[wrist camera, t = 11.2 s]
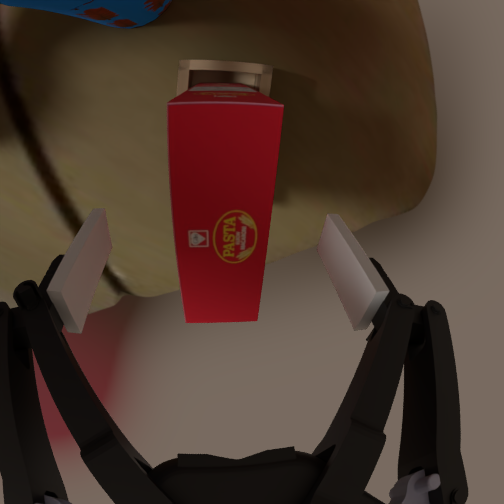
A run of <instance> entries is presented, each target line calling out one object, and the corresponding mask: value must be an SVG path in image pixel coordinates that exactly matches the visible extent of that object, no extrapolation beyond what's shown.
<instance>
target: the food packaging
mask: <svg viewBox="0 0 504 504" xmlns="http://www.w3.org/2000/svg"><path fill="white" fill-rule="evenodd" d="M283 110H284V105H283V104H281V103H279V102H277V101H276V100H274V99H272V98H270V97H268V96H266V95H264V94H262V93H260V92H258V91H256V90H254V89H252V88H250V87H248V86H246V85H244V84H241V83H198V84H197V85H195V86H193V87H191V88H190V89H188V90H186V91H185V92H183V93H182V94H180V95H178V96H177V97H175V98H174V99H172V100H171V101H169V102H167V143H168V167H169V184H170V198H171V211H172V222H173V233H174V242H175V251H176V260H177V268H178V276H179V283H180V290H181V297H182V304H183V310H184V317H185V322H186V323H213V322H214V323H216V322H246V321H257V319H258V312H259V304H260V298H261V290H262V283H263V276H264V268H265V260H266V253H267V245H268V237H269V229H270V221H271V213H272V205H273V197H274V189H275V180H276V172H277V164H278V155H279V146H280V137H281V128H282V119H283Z"/></svg>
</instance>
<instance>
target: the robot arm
mask: <svg viewBox="0 0 504 504" xmlns="http://www.w3.org/2000/svg"><path fill="white" fill-rule="evenodd" d="M111 249H112V244H111V239H110V234H109V229H108V223H107V218H106V212H105V208H101V209H93V210H92V212H91V213H90V215H89V216H88V218H87V219H86V221H85V222H84V224H83V226H82V227H81V229H80V230H79V232H78V234H77V235H76V237H75V239H74V240H73V242H72V244H71V245H70V247H69V249H68V250H67V252H66V254H65V255H59V256H58V257H56V258H55V259H54V260H53V261H52V263H51V265H50V267H49V270H47V272H46V275H45V276H44V278H43V280H42V282H41V283H40V285H39V287H38V286H37V284H36V282H35V281H32V280H27V281H24V282H22V283H20V284H19V285H18V286H17V287H16V288H15V290H14V293H13V298H14V299H15V301H16V303H17V305H18V306H19V307H16V308H11V309H10V308H9V306H8V305H7V303H6V302H0V472H1V476H2V479H3V494H4V504H72V503H70V502H69V501H68V498H67V494H66V490H65V487H64V484H63V481H62V478H61V475H60V472H59V470H58V467H57V464H56V461H55V458H54V456H53V452H52V449H51V446H50V442H49V439H48V436H47V432H46V428H45V424H44V420H43V416H42V412H41V407H40V402H39V397H38V391H37V385H36V379H35V371H34V363H33V354H32V349H33V351H34V355H35V357H36V360H37V363H38V365H39V367H40V370H41V373H42V375H43V377H44V380H45V382H46V384H47V387H48V389H49V391H50V393H51V396H52V398H53V400H54V402H55V404H56V406H57V408H58V410H59V412H60V414H61V416H62V418H63V420H64V421H65V423H66V425H67V427H68V429H69V430H70V432H71V434H72V436H73V437H74V439H75V441H76V442H77V444H78V446H79V448H80V450H81V452H80V455H81V457H82V459H83V461H84V463H85V464H86V466H87V467H88V469H89V470H90V472H91V473H92V474H93V476H94V477H95V479H96V480H97V481H98V483H99V484H100V485H101V487H102V488H103V489H104V490H105V492H106V493H107V494H108V496H109V497H110V498H111V499H112V500H113V502H114V503H115V504H385V503H383V502H381V501H380V500H378V499H377V498H375V497H373V496H372V495H371V494H369V493H367V492H366V491H364V490H365V488H366V486H367V484H368V481H369V479H370V477H371V475H372V473H373V471H374V468H375V466H376V464H377V461H378V459H379V457H380V454H381V452H382V449H383V447H384V444H385V441H386V435H385V434H384V433H383V430H384V427H385V424H386V421H387V419H388V416H389V413H390V410H391V406H392V404H393V400H394V397H395V394H396V390H397V387H398V384H399V380H400V376H401V373H402V368H403V365H404V402H403V421H402V432H401V443H400V451H399V459H398V481H397V482H396V484H395V485H394V487H393V488H392V489H391V490H390V493H389V496H390V498H391V501H390V503H389V504H465V502H466V500H467V497H468V486H467V480H466V475H465V470H464V465H463V460H462V456H461V452H460V439H461V438H460V436H461V435H460V434H461V433H460V432H461V431H460V404H459V391H458V382H457V373H456V365H455V358H454V351H453V346H452V340H451V335H450V329H449V325H448V320H447V316H446V312H445V309H444V308H443V307H442V305H441V304H439V303H438V302H436V301H433V300H430V301H428V302H427V303H426V305H425V306H424V307H423V306H418V305H414V303H413V301H412V300H411V299H410V298H409V297H407V296H406V295H403V294H399V293H398V292H397V290H396V288H395V287H394V285H393V283H392V282H391V280H390V279H389V277H387V274H386V273H385V272H384V270H383V268H382V267H381V265H380V264H379V263H378V262H377V261H376V260H375V259H373V258H368V256H367V255H366V254H365V252H364V250H363V249H362V247H361V246H360V244H359V243H358V241H357V240H356V238H355V237H354V236H353V234H352V233H351V231H350V230H349V228H348V227H347V226H346V224H345V223H344V221H343V220H342V219H341V217H340V216H339V215H338V214H327V217H326V220H325V224H324V227H323V231H322V234H321V237H320V241H319V244H318V247H317V252H318V254H319V256H320V258H321V260H322V262H323V264H324V266H325V268H326V270H327V272H328V274H329V276H330V278H331V280H332V283H333V285H334V287H335V289H336V291H337V293H338V295H339V298H340V300H341V302H342V304H343V306H344V309H345V311H346V313H347V315H348V317H349V319H350V322H351V324H352V327H353V329H354V331H356V330H363V329H367V328H368V326H369V325H370V323H371V321H372V323H373V325H374V329H373V330H372V332H371V333H370V335H369V336H368V338H367V339H366V340H367V341H368V343H367V345H366V348H365V350H364V353H363V356H362V358H361V361H360V363H359V365H358V368H357V370H356V373H355V375H354V377H353V379H352V382H351V384H350V386H349V389H348V391H347V393H346V395H345V397H344V399H343V402H342V403H341V405H340V408H339V410H338V412H337V414H336V416H335V418H334V420H333V421H332V424H331V425H330V427H329V429H328V431H327V433H326V435H325V437H324V438H323V440H322V441H321V442H320V443H319V445H318V446H317V447H316V449H315V450H314V452H313V453H312V455H311V454H308V453H305V452H300V451H295V449H294V446H293V447H287V448H280V449H272V450H266V451H263V452H260V453H257V454H254V455H252V456H249V457H245V458H242V459H238V460H236V459H229V458H224V457H218V456H213V455H208V454H178V458H175V459H171V460H168V461H166V462H163V463H161V464H159V465H158V466H156V467H155V468H154V469H153V468H152V467H151V466H150V464H148V462H147V461H146V460H145V459H144V458H143V457H142V456H141V455H140V454H139V453H138V452H137V450H136V449H135V448H134V447H133V446H132V445H131V443H130V442H129V441H128V440H127V438H126V437H125V436H124V434H123V433H122V432H121V430H120V429H119V428H118V426H117V425H116V423H115V422H114V421H113V419H112V418H111V416H110V415H109V413H108V412H107V411H106V409H105V408H104V406H103V405H102V403H101V402H100V400H99V398H98V397H97V395H96V394H95V392H94V390H93V389H92V387H91V385H90V384H89V382H88V380H87V379H86V377H85V375H84V373H83V372H82V370H81V368H80V366H79V364H78V362H77V361H76V359H75V357H74V355H73V353H72V351H71V349H70V347H69V345H68V343H67V341H66V339H65V337H64V335H63V333H62V328H63V325H64V326H65V327H66V329H67V331H68V332H74V333H82V329H83V326H84V323H85V320H86V317H87V313H88V310H89V307H90V304H91V301H92V298H93V296H94V293H95V290H96V287H97V284H98V282H99V279H100V276H101V274H102V271H103V269H104V266H105V264H106V261H107V259H108V256H109V254H110V251H111Z"/></svg>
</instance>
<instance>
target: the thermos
mask: <svg viewBox="0 0 504 504" xmlns="http://www.w3.org/2000/svg"><path fill="white" fill-rule="evenodd" d="M171 1H172V0H0V4H4V5H8V6H16V7H25V8H32V9H39V10H45V11H50V12H56V13H60V14H65V15H69V16H74V17H78V18H82V19H86V20H89V21H93V22H96V23H100V24H103V25H106V26H111V27H117V28H129V29H130V28H134V27H139V26H143V25H145V24H147V23H149V22H151V21H153V20H155V19H156V18H157V17H158V16H159V15H161V14H162V13H163V12H164V11H165V10H166V9H167V7H168V6H169V4H170V3H171Z"/></svg>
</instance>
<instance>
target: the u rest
mask: <svg viewBox="0 0 504 504" xmlns="http://www.w3.org/2000/svg"><path fill="white" fill-rule="evenodd" d="M272 72H273V66H272V65H264V64H256V63H246V62H234V61H218V60H179V70H178V83H177V96H178V95H180V94H182V93H183V92H185V91H186V90H188V89H190V88H191V87H193V86H195V85H197V84H198V83H241V84H244V85H246V86H248V87H250V88H252V89H254V90H256V91H258V92H260V93H262V94H264V95H266V96H268V97H269V94H270V87H271V80H272Z"/></svg>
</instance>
